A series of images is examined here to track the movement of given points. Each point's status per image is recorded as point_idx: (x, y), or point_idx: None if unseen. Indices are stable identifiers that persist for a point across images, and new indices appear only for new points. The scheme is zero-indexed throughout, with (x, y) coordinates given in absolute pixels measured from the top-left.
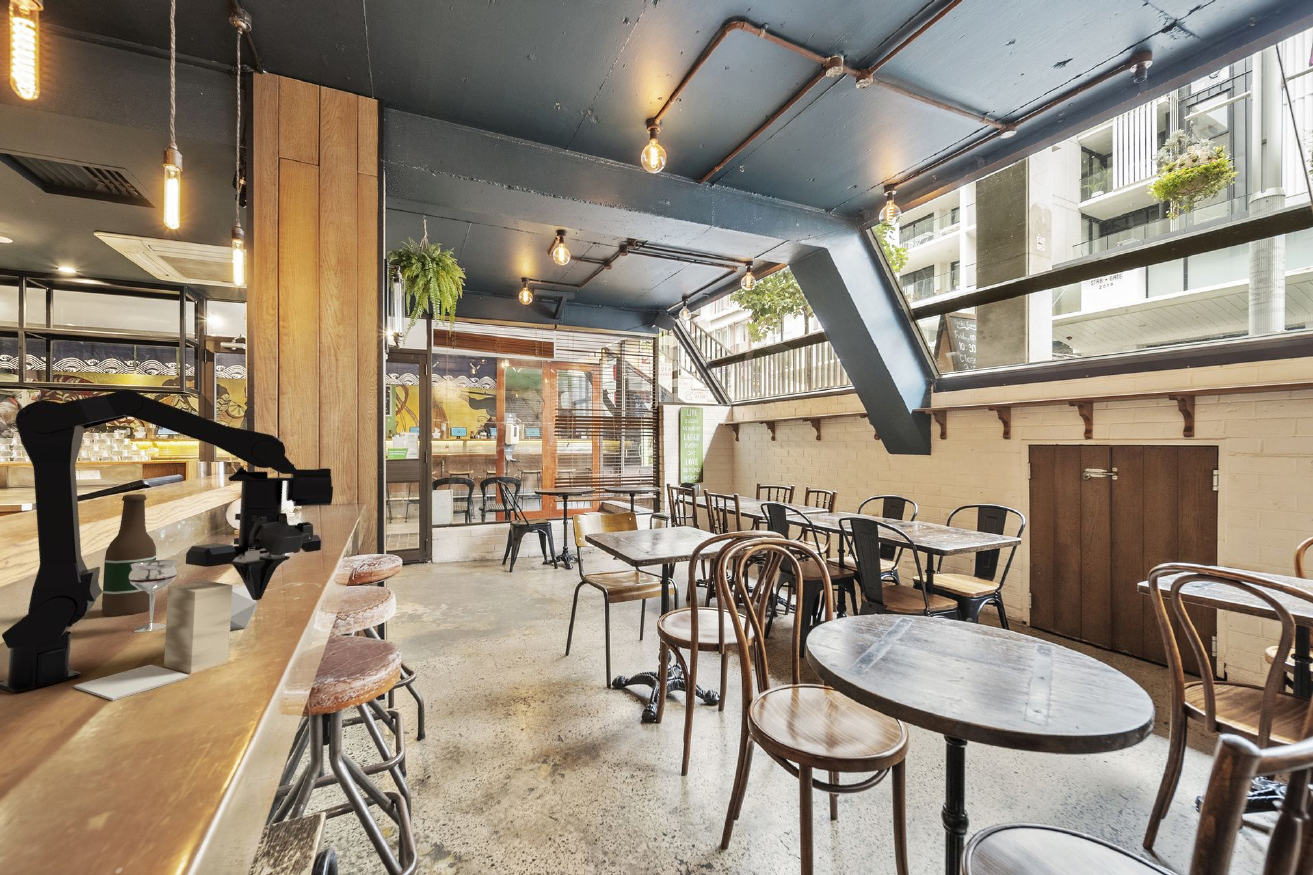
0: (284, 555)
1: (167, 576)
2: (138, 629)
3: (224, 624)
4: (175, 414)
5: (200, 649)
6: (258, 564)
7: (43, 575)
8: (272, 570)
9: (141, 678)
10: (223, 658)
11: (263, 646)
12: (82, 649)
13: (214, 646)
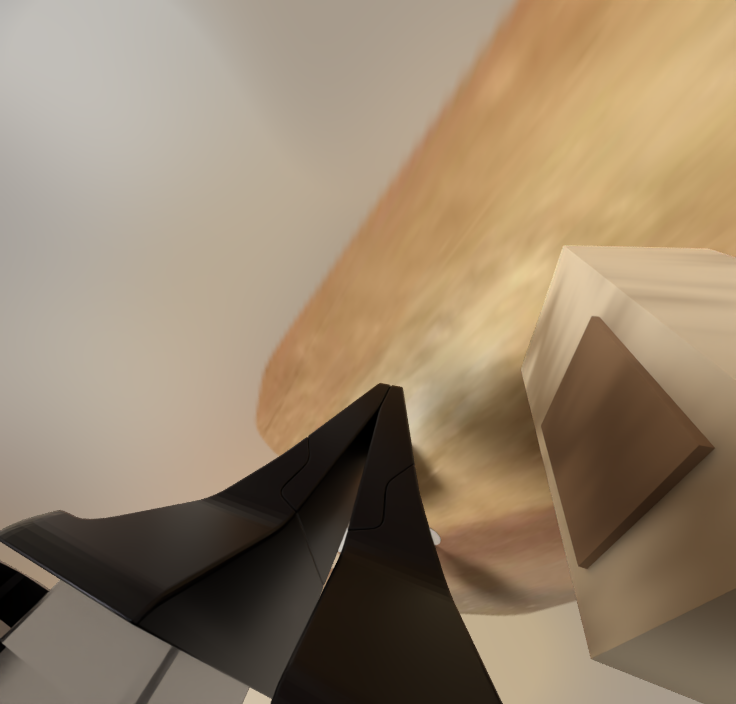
0: (55, 587)
1: None
2: (434, 540)
3: (659, 295)
4: None
5: (733, 270)
6: (392, 671)
7: None
8: (260, 484)
9: None
10: (589, 249)
11: (412, 287)
12: (536, 552)
13: (657, 266)
